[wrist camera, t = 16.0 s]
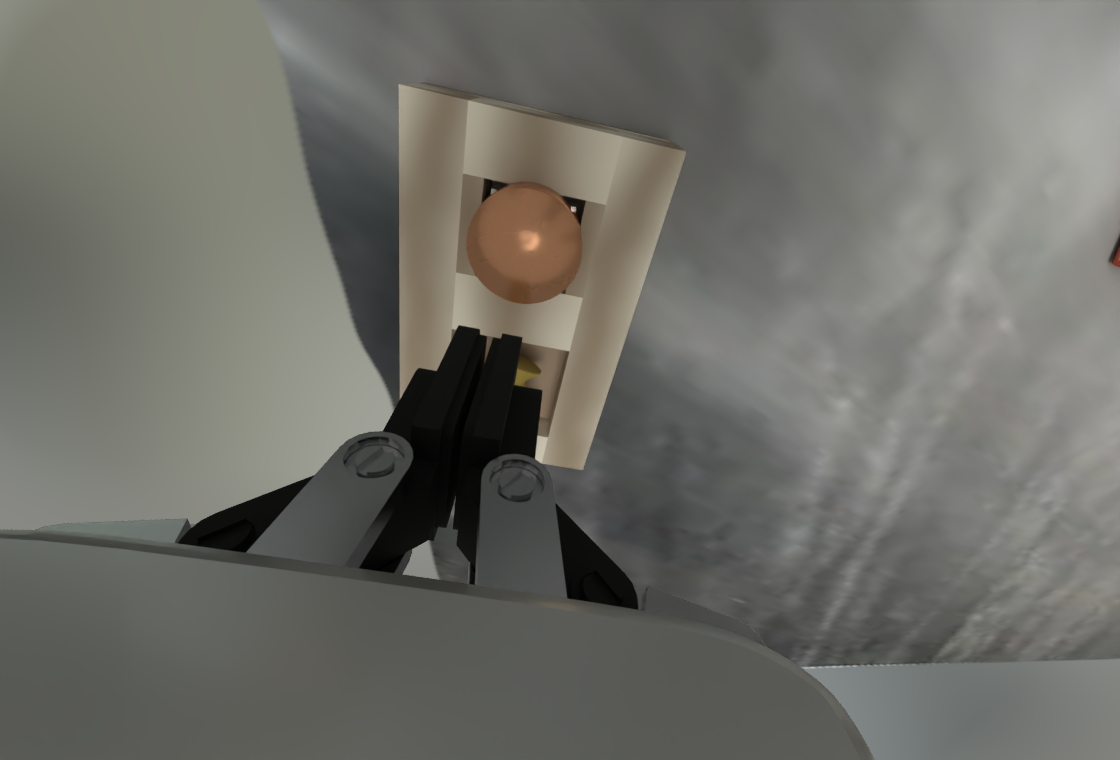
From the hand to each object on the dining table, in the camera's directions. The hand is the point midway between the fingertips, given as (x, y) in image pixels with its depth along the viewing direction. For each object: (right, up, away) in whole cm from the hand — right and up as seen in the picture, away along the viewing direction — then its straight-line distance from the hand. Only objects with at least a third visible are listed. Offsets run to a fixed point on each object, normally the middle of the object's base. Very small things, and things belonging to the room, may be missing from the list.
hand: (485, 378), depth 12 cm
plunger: (0, +9, +13) cm, 16 cm away
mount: (-1, +5, +17) cm, 18 cm away
